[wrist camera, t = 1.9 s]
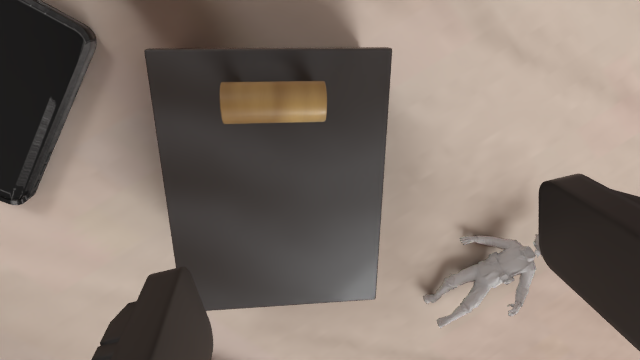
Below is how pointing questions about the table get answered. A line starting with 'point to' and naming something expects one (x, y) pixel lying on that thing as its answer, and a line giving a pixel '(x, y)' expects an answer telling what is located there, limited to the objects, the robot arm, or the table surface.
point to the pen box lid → (273, 169)
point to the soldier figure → (491, 275)
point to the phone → (36, 88)
